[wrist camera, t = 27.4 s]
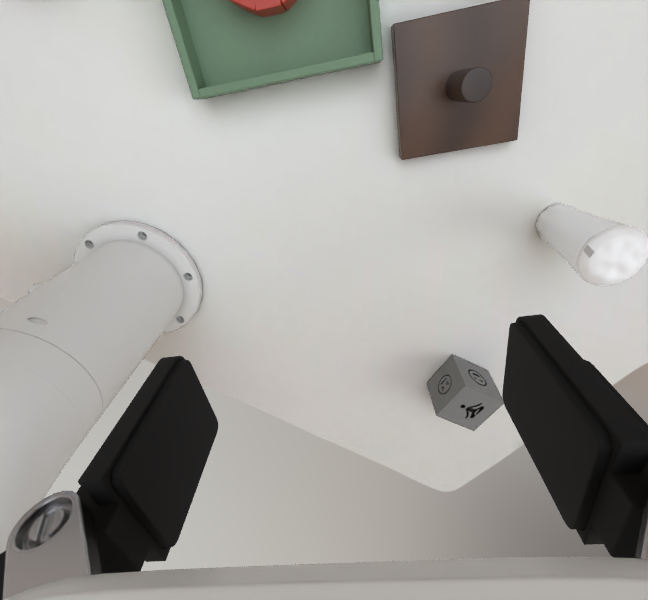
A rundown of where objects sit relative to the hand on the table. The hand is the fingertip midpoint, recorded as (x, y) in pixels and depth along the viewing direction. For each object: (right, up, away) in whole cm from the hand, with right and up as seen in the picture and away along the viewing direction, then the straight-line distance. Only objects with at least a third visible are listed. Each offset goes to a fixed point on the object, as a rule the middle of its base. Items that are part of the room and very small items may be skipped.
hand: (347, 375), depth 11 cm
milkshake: (+20, +10, +22) cm, 31 cm away
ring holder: (+9, +19, +17) cm, 27 cm away
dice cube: (+15, -7, +32) cm, 36 cm away
